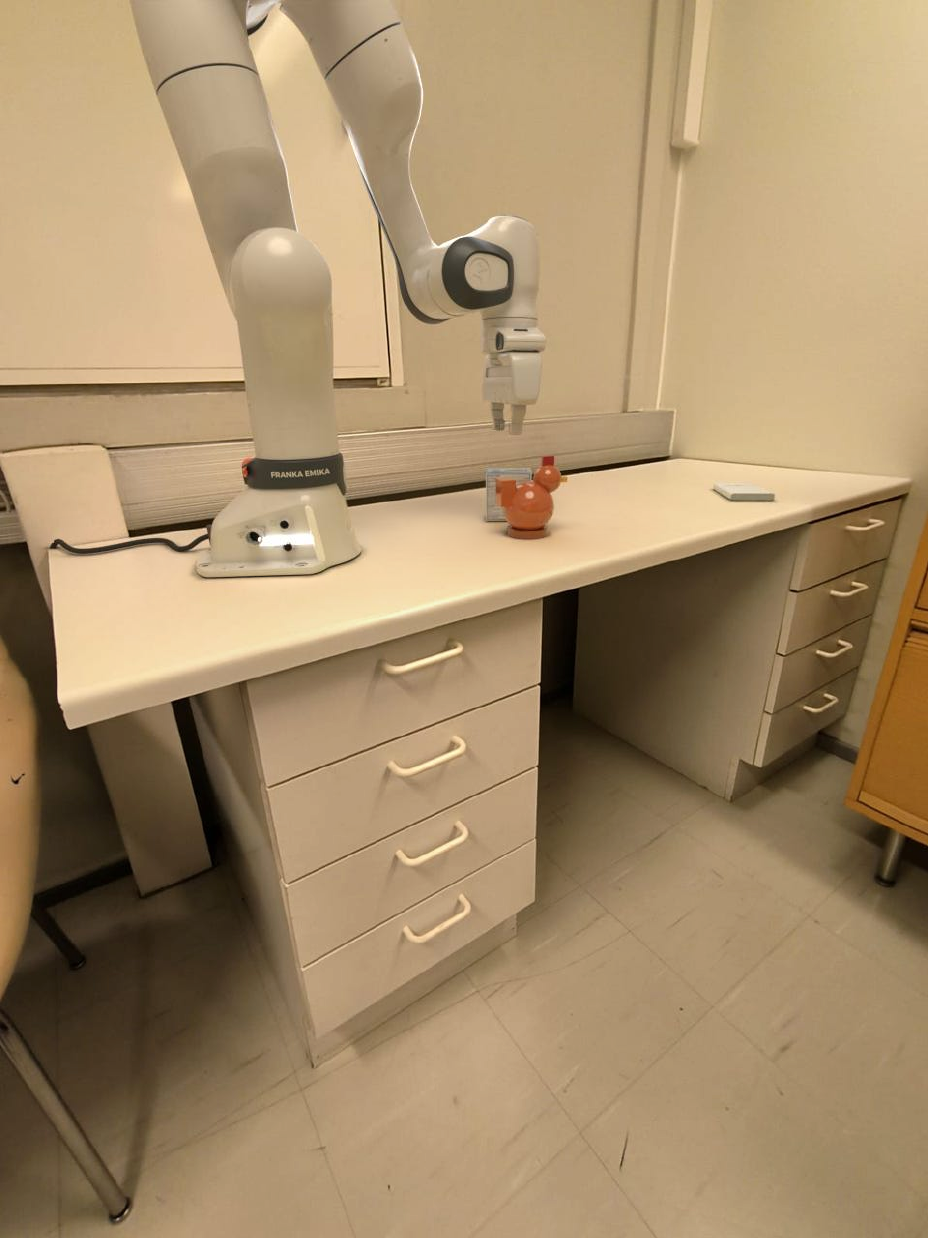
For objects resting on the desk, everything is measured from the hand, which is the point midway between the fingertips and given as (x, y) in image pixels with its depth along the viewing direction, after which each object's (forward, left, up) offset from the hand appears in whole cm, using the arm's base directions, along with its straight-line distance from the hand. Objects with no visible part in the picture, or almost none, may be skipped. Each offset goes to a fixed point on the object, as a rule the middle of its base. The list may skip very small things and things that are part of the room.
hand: (506, 432), depth 95 cm
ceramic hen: (0, -11, -15) cm, 18 cm away
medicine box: (+1, 0, -15) cm, 15 cm away
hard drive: (+52, +5, -15) cm, 55 cm away
